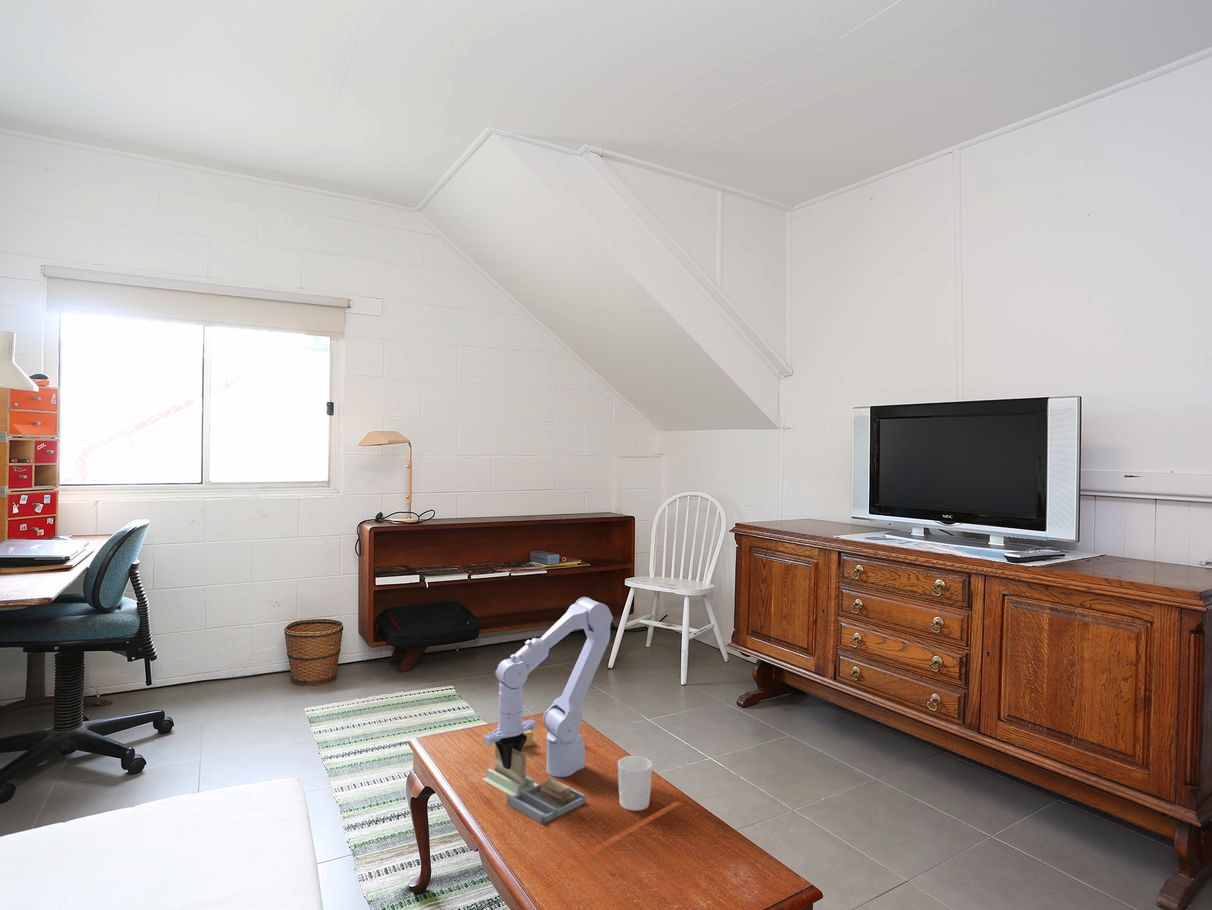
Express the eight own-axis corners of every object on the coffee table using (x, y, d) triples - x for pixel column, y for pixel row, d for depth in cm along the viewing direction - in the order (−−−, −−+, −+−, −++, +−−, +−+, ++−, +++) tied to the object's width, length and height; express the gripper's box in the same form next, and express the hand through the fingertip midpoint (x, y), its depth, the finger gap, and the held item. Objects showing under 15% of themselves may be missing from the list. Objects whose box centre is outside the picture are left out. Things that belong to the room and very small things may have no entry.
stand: (507, 771, 180) (507, 761, 180) (538, 788, 171) (538, 777, 171) (481, 782, 174) (481, 771, 174) (512, 799, 165) (512, 788, 165)
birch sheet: (500, 774, 176) (500, 742, 176) (525, 788, 169) (526, 754, 169) (495, 776, 175) (495, 743, 175) (520, 790, 168) (521, 756, 168)
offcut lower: (552, 789, 169) (552, 783, 169) (575, 801, 163) (575, 795, 163) (540, 794, 166) (540, 788, 166) (563, 807, 161) (563, 801, 161)
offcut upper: (550, 785, 168) (551, 779, 168) (570, 792, 164) (570, 786, 164) (541, 790, 166) (541, 784, 166) (560, 798, 162) (560, 792, 162)
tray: (550, 788, 171) (550, 777, 171) (585, 806, 163) (585, 794, 163) (507, 807, 162) (507, 796, 162) (542, 827, 154) (542, 815, 154)
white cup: (656, 802, 165) (657, 759, 165) (644, 818, 158) (644, 773, 158) (625, 795, 168) (625, 753, 168) (611, 810, 161) (612, 766, 161)
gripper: (523, 698, 180) (522, 752, 180) (476, 713, 170) (475, 770, 170) (541, 706, 175) (541, 760, 176) (494, 722, 165) (493, 780, 165)
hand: (510, 766), depth 172 cm, fingers closed on birch sheet, 1 cm apart
